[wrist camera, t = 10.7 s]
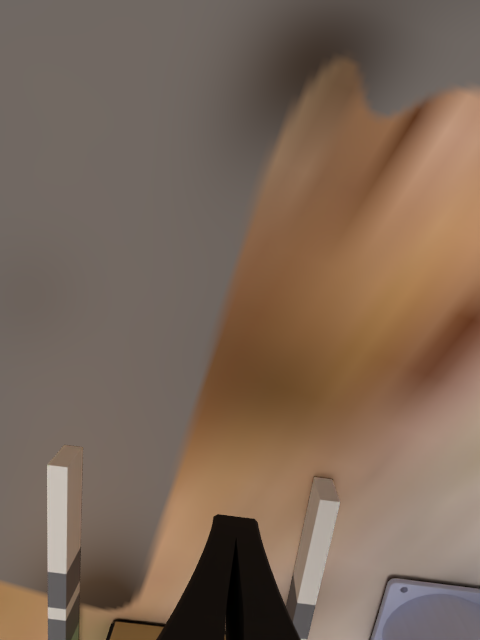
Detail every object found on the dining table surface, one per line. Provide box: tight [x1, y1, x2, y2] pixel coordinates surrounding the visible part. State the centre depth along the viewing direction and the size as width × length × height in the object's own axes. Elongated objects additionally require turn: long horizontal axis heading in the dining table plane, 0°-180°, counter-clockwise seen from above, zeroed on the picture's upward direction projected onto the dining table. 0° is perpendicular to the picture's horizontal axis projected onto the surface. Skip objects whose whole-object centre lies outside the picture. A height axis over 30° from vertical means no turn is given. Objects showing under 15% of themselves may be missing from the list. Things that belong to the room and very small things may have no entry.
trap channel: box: [47, 445, 340, 640], centre depth 25 cm, size 17×26×2 cm
